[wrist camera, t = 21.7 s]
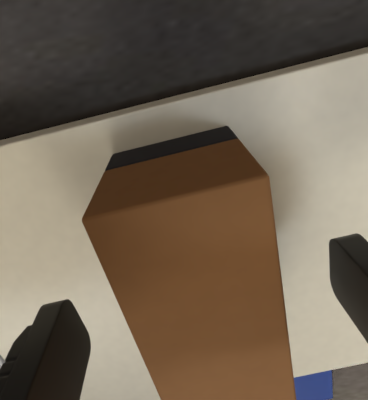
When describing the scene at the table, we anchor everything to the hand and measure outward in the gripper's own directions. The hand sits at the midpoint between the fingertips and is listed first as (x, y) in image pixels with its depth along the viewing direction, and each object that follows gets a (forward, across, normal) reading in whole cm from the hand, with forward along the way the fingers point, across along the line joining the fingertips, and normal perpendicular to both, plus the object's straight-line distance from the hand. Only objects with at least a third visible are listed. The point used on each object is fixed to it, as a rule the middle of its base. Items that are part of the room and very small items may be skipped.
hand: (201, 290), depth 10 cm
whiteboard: (+4, 0, +2) cm, 5 cm away
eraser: (+3, 0, 0) cm, 3 cm away
